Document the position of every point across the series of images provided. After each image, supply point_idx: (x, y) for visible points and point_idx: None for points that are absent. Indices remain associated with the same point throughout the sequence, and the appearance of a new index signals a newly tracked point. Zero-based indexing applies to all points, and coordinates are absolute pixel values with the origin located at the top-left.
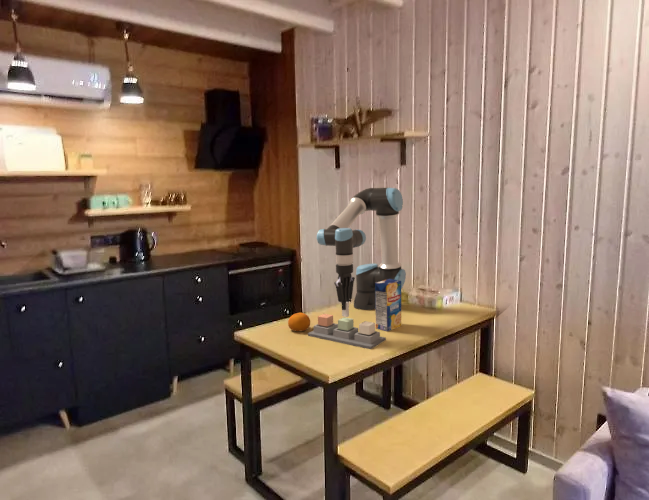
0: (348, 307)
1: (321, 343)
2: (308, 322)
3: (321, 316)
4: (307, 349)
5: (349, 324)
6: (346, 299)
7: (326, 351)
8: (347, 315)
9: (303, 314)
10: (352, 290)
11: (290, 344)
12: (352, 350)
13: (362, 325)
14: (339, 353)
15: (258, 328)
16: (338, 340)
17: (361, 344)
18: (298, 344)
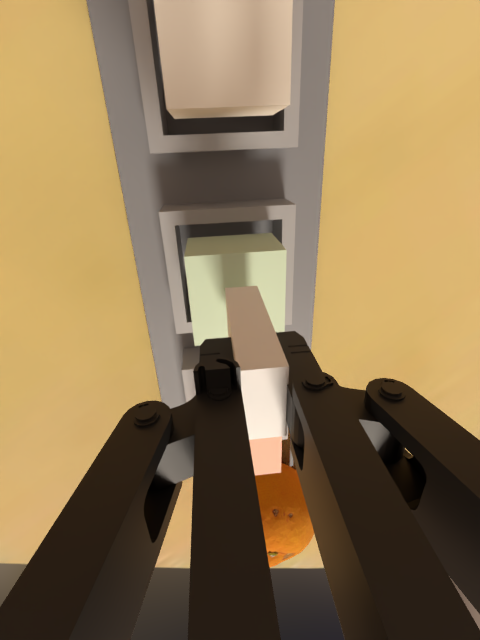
0: (238, 329)
1: (364, 308)
2: (258, 481)
3: (270, 459)
4: (461, 308)
5: (247, 244)
6: (305, 404)
7: (461, 213)
8: (252, 291)
9: (265, 539)
10: (41, 563)
11: (427, 399)
12: (398, 78)
13: (290, 53)
14: (471, 125)
15: (321, 561)
16: (316, 248)
17: (328, 47)
18: (416, 376)
